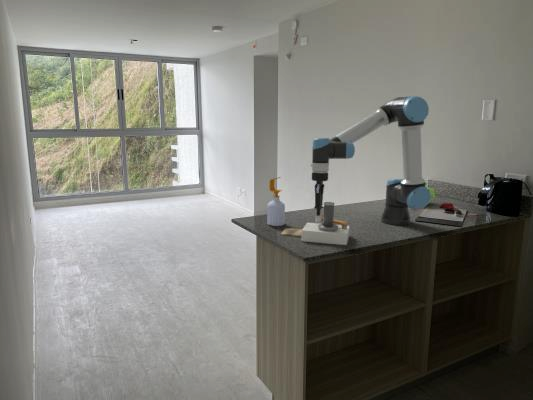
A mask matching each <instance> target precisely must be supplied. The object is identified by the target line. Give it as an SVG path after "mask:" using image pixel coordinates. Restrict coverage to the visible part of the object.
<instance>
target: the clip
mask: <svg viewBox="0 0 533 400" xmlns="http://www.w3.org/2000/svg"><path fill="white" fill-rule="evenodd" d="M323 221H324V217H321V222H323ZM333 224H335V225H347V226H348V221H344V220H338V219H333Z"/></svg>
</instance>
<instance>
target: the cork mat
mask: <svg viewBox="0 0 533 400" xmlns="http://www.w3.org/2000/svg"><path fill="white" fill-rule="evenodd" d="M302 229H303V228H302ZM302 229H301V228H291V227H285V229H283V231H281V234H280V235H281V236H292V237H302Z"/></svg>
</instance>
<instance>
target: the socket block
mask: <svg viewBox="0 0 533 400" xmlns="http://www.w3.org/2000/svg"><path fill="white" fill-rule="evenodd" d="M319 224H320V223H319V222H306V224H305V225H304V226H303V228H302V237H301V236H300V237H301V238H300V239H301V242H308V243H317V244H318V243H319V244H320V243H321V244H328V245H329V244H330V245H331V244H332V245H338V246H339V245H340V246H344V245H345V246H347V245H348V241H349V239H350V238H349V237H350V225H348V224H347V225H340V224H336V225H337V226H338V230H335V231H324V230H320V229H318V225H319Z"/></svg>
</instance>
